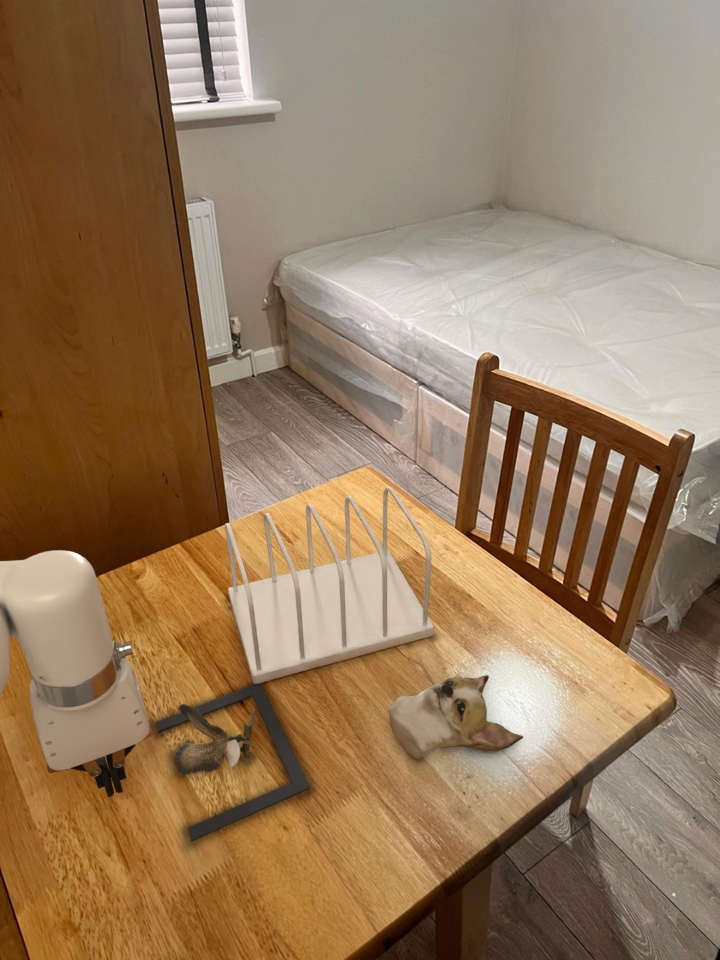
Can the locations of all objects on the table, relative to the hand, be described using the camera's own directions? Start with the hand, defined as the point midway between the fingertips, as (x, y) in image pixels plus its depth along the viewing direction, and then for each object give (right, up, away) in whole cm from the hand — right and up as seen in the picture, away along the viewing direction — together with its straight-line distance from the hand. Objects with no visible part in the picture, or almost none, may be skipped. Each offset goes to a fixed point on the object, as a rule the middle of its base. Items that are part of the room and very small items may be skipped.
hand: (113, 783), depth 79 cm
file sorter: (+22, +13, +24) cm, 35 cm away
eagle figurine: (+10, +1, +6) cm, 12 cm away
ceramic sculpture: (+37, +3, +8) cm, 38 cm away
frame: (+11, +1, +6) cm, 12 cm away
